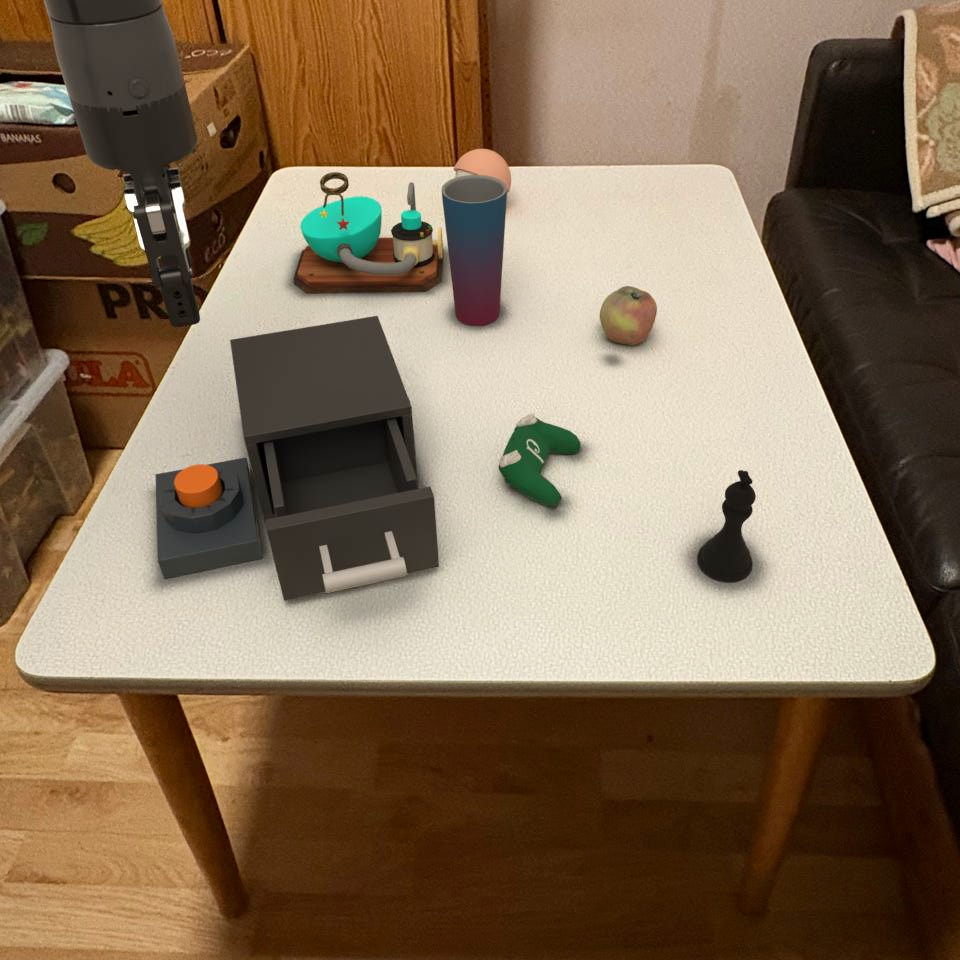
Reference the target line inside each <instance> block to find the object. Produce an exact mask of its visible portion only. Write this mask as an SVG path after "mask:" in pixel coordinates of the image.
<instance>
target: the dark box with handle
mask: <svg viewBox="0 0 960 960" xmlns="http://www.w3.org/2000/svg"><path fill="white" fill-rule="evenodd" d="M263 444H264V451H265V457H266V463H267V469H268V475H269V481H270V487H271V493H272V499H273V505H274V510H275V514H276V518H271V519H266V520H265V521H264V524H265V529H266V534H267V538H268V543H269V546H270V550H271V555H272V558H273V562H274V566H275V567H274V568H275V571H276V574H277V579H278V582H279V587H280V591H281V594H282V598H283V601H284V602H286V601H291V600H296V599H300V598H304V597H305V598H306V597H309V596H314V595H318V594H323V593H326V594H328V593H329V594H330V593H333V592H339V591H343V590H347V589H352V588H357V587H361V586H366V585H369V584H374V583H380V582H383V581H388V580H393V579H396V578H401V577H406V576H408V575H409V574H414V573H419V572H423V571H427V570H432V569H437V568H439V567H440V560H439V546H438V532H437V531H438V530H437V517H436V516H437V515H436V503H435V494H434V492H433V489H432V487H431V486H425V487H420V488H419V489H418V487H419V486H418V487H417V478H416V475H415V472H414V469H413V467H412V464H411V461H410V458H409V455H408V452H407V449H406V446H405V444H404V441H403V438H402V435H401V432H400V429H399V426H398V423H397V421H396V418H395V417H394V418H389V419H383V420H378V421H373V422H367V423H362V424H357V425H351V426H346V427H340V428H335V429H330V430H324V431H319V432H314V433H308V434H303V435H297V436H292V437H287V438H281V439H276V440H271V441H265V442H263Z"/></svg>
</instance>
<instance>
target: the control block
mask: <svg viewBox="0 0 960 960" xmlns="http://www.w3.org/2000/svg"><path fill="white" fill-rule="evenodd" d="M207 465H209V466H212V467H213V468H215V469H216V470H217V472H218V475H219V479H220V482H221V486H222V493H221V496H220V497H219V498H218V499H217V500H216V501H215V502H213V503H211V504H209V505H208V506H203V507H198V508H191V507H187V506H185V505H183V504H182V503H181V502H180V500H179V497H178V494H177V491H176V488H175V485H174V480H175V477H176V476H177V474H178V473H179V472H181V471H182V470H183V469H184V468H182V469H177V470H172V471H166V472H160V473H156V474H155V506H156V507H155V511H156V545H157V546H156V549H157V550H156V551H157V553H156V554H157V563H158V566H159V568H160V571H161V574H162V577H163V579H164V580H165V579H172V578H175V577H181V576H184V575H190V574H195V573H199V572H204V571H209V570H212V569H217V568H223V567H227V566H232V565H238V564H243V563H246V562H251V561H252V562H253V561H256V560H261V559H263V551H262V545H261V538H260V530H259V524H258V518H257V517H258V516H257V510H256V503H255V496H254V495H255V494H254V488H253V482H252V475H251V471H250V470H251V469H250V467H249V463H248V458H247V457H240V458H235V459H230V460H229V459H228V460H225V461H219V462H214V463H209V464H207Z"/></svg>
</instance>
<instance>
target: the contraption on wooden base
mask: <svg viewBox="0 0 960 960" xmlns="http://www.w3.org/2000/svg"><path fill="white" fill-rule="evenodd" d="M335 179H336V180H341V181H342V182H343V184H342V185H340V186H338V187H333V188H332V187H328V186H326V183H327V182H329V181H330V180H335ZM319 185H320V190H321V192H323V193H324V194H325V195H324V201H323V205H321V206H319V207H316V208H313V209H312V210H311V211H310V212H308V213H307V214H306V215H305V216H304V217H303V218H302V219H301V221H300V226H299V227H300V231H301V234H302V236H303V238H304V240H305V242H306V244H307V245H306V246H305V248H304V249H302V251H301V253H300V256H299V259H298V262H297V266H296V269H295V272H294V275H293V285H295V286H296V287H297V288H298V289H300V290H301V291H302V292H303V293H305V294H352V293H353V294H355V293H357V294H359V293H362V294H363V293H417V292H418V293H427V292H428V291H430V290H431V289H432V288H434V287H435V286H437V285H439V284H440V283H442V281H443V269H444V254H445V252H444V251H445V250H444V248H443V246H444V240H443V228H442V227H437V240H433V232H434V228H433V226H432V225H431V224H430V223H428V222H426V221H423V220H422V214H421V211H418V210H417V204H416V190H415V183H414V182H413V181H410V182H409V183H408V186H407V194H406V201H407V202H406V203H407V206H410V209H407V210H403V211H402V212H401V213H400V219H401V222H398V223H396V224H394V225H393V226H392V228H391V229H390V232H391V236H392V237H380V236H381V231H382V221H383V220H382V219H383V218H382V216H383V214H382V210H383V209H382V206H381V203H380V202H379V201H377V200H376V199H375V198H372V197H369V196H363V195H358V196H351V197H345V198H344V196H343V193H344V192H347V190H348V189H349V186H350V183H349V177H348V176H347V175H346V174H344V173H342V172H338V171H335V172H329V173H326V174H324V175H323V176H322V177H321V178H320V180H319ZM329 196H339V197H340V199H338V200H335V201H332V202H329V203H328V197H329Z"/></svg>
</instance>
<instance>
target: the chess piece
mask: <svg viewBox="0 0 960 960" xmlns="http://www.w3.org/2000/svg"><path fill="white" fill-rule="evenodd" d="M737 475H738V477H739V480H738V481H734V482H733V483H731V484H730V485H728V486H727V487H726V488H725V491H724V498H725V499H724V501H723V502H722V504H721V510H722V514H723V516H724V524H723V526H722V528H721V529H720V530H719V531H718V532H717V533H716V534H715V535H713V536H712V537H711V538H710V539H708V540H707V541H706V542H705V543H704V544H703V545H702V546H701V547H700V549H699V550H698V552H697V555H696V556H697V558H696V560H697V564H698V566H699V568H700V570H701V572H703V573H704V574H705V575H706V576H708V577H709V578H711V579H712V580H716V581H719V582H724V583H735V582H739V581H742V580H744V579H746V578H747V577H748V576H749V575H750V574H751V572H752V570H753V564H754V563H753V558H752V555H751V552H750V550H749V547H748V546H747V545H746V541H745V539H744V536H743V532H742V529H743V525H744V523H745V522H746V521H747V520H748V519H749V518H750V517H751V516H752V514H753V509H754V508H753V504H754V503H755V501H756V497H757V495H756V492H755V489H754V488H753V486H751V485H752V484H753V479H752V478H751V476H750V475H749V471H748V470H743V469H740V470H738V471H737Z"/></svg>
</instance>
